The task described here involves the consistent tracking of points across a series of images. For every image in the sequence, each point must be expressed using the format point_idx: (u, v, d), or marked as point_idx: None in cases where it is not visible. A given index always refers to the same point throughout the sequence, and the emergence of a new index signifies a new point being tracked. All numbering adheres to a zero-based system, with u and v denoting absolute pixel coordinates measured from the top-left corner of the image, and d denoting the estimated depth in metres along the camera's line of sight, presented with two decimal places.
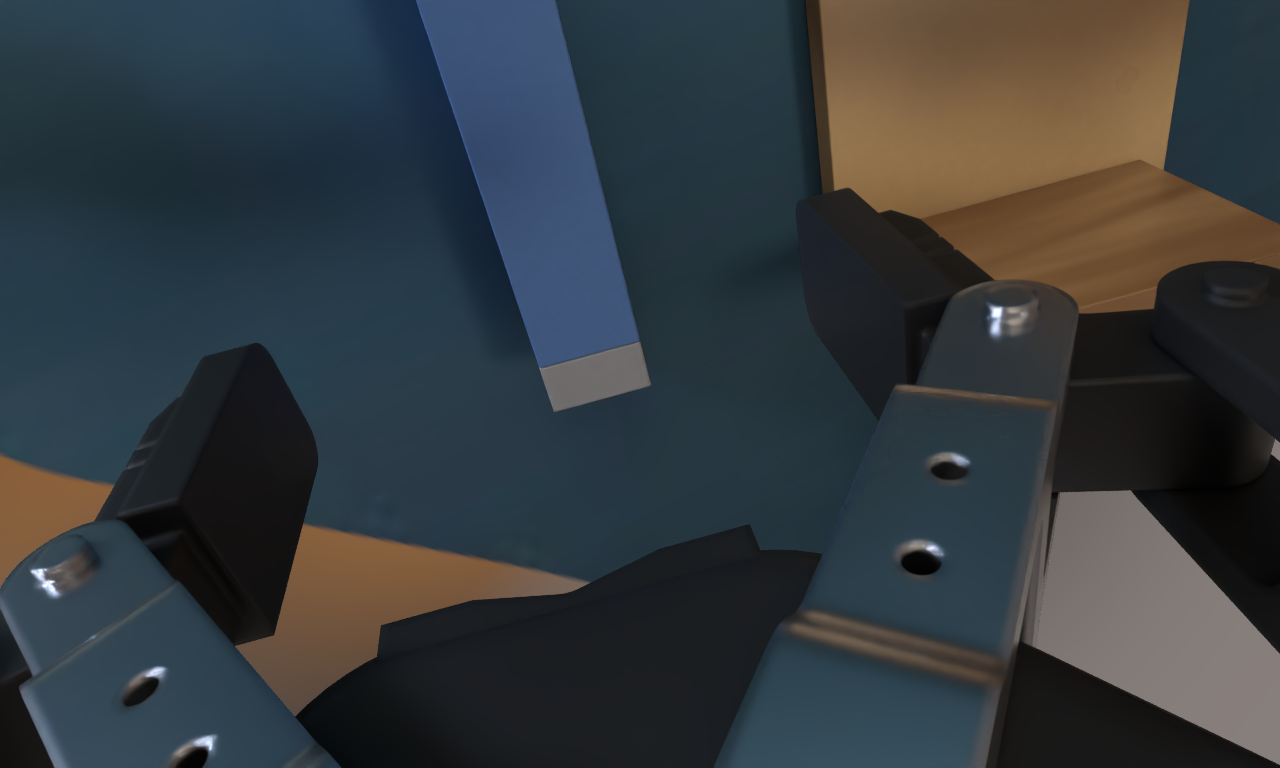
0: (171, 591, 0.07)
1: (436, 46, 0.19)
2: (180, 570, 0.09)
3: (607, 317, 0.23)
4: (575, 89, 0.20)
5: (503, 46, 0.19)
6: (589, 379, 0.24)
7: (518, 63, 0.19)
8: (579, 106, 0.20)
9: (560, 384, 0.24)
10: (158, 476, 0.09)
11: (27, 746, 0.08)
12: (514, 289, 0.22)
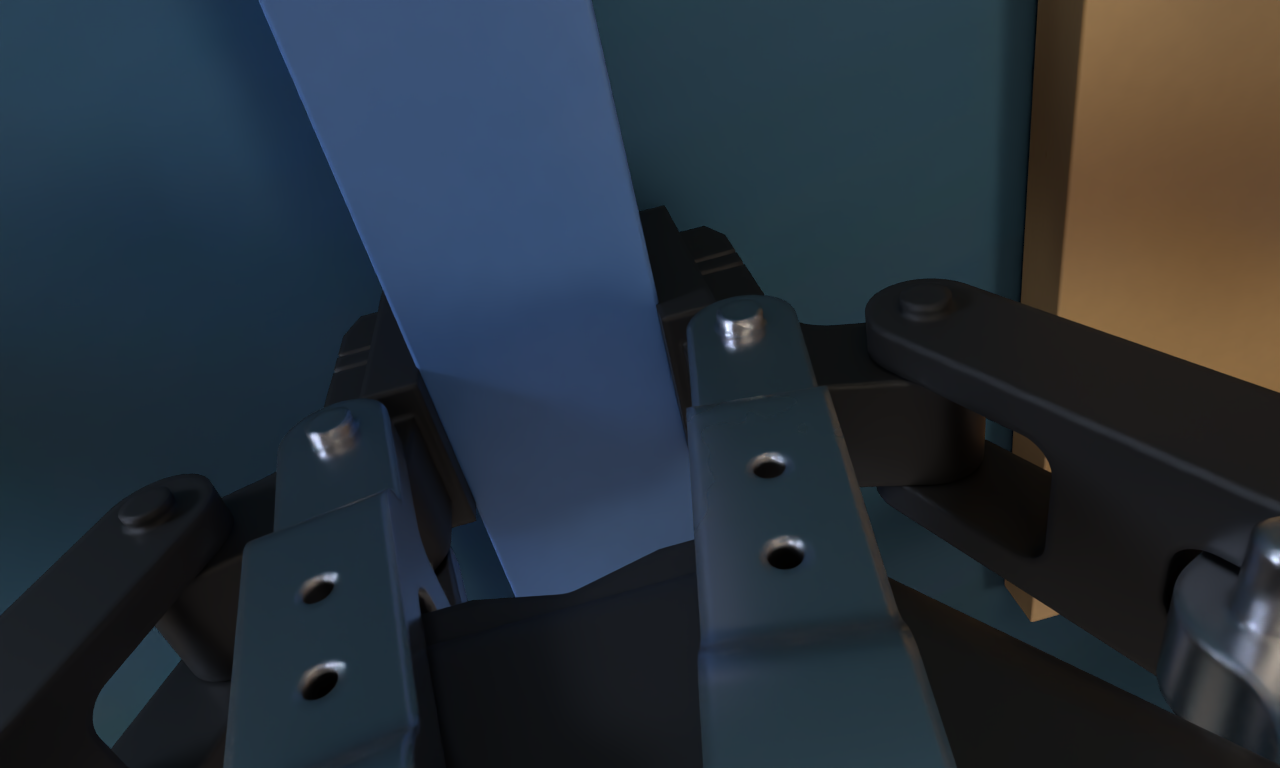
0: (376, 501, 0.07)
1: (394, 297, 0.09)
2: (418, 447, 0.10)
3: None
4: (666, 356, 0.10)
5: (531, 291, 0.10)
6: None
7: (558, 319, 0.10)
8: (671, 382, 0.11)
9: None
10: (386, 368, 0.10)
11: None
12: None
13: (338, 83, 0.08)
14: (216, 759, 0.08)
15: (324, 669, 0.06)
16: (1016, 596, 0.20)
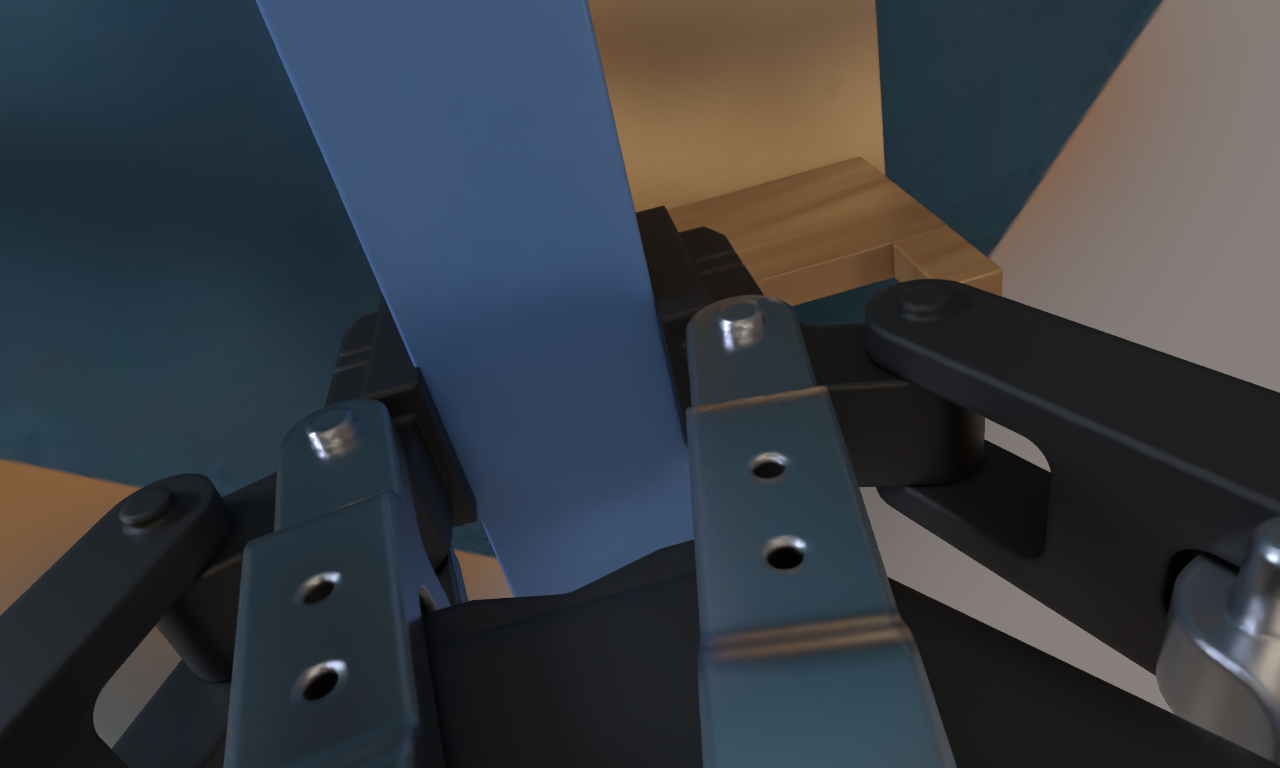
0: (377, 501, 0.07)
1: (394, 299, 0.09)
2: (418, 447, 0.10)
3: None
4: (663, 357, 0.10)
5: (528, 293, 0.10)
6: None
7: (555, 320, 0.10)
8: (668, 382, 0.11)
9: None
10: (387, 368, 0.10)
11: None
12: None
13: (336, 86, 0.08)
14: (217, 759, 0.08)
15: (325, 669, 0.06)
16: None
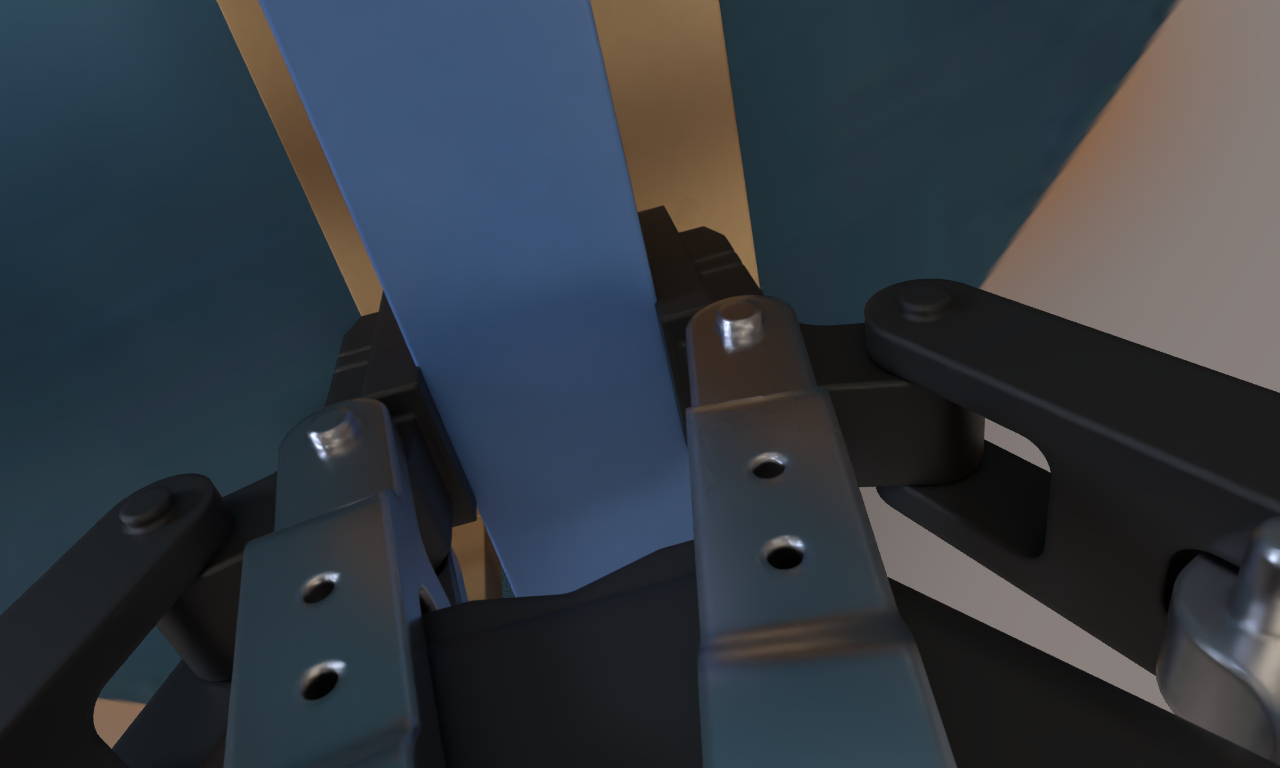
0: (377, 501, 0.07)
1: (395, 299, 0.09)
2: (418, 447, 0.10)
3: None
4: (666, 358, 0.10)
5: (531, 294, 0.10)
6: None
7: (558, 322, 0.10)
8: (671, 383, 0.11)
9: None
10: (387, 368, 0.10)
11: None
12: None
13: (340, 88, 0.08)
14: (217, 758, 0.08)
15: (324, 669, 0.06)
16: None
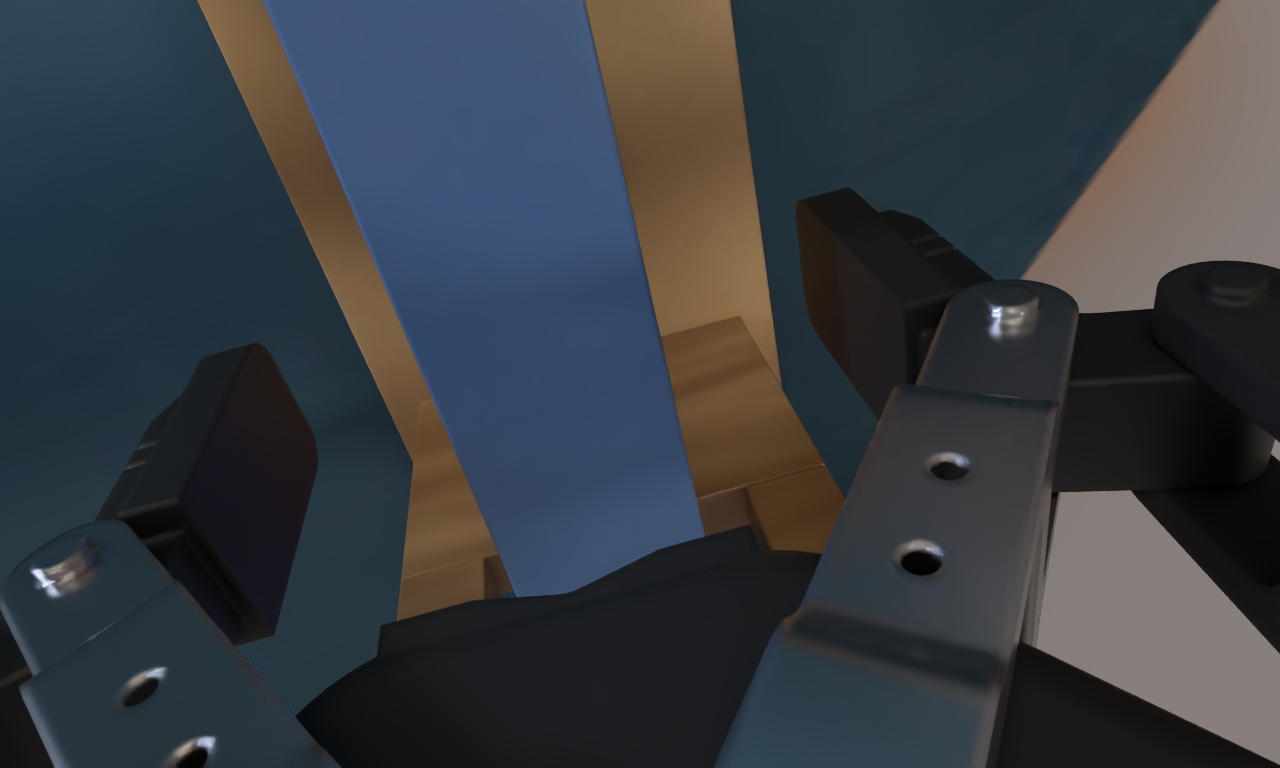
0: (171, 591, 0.07)
1: (398, 296, 0.10)
2: (180, 570, 0.09)
3: None
4: (660, 355, 0.11)
5: (529, 292, 0.10)
6: None
7: (555, 320, 0.10)
8: (665, 379, 0.11)
9: None
10: (158, 476, 0.09)
11: (27, 746, 0.08)
12: None
13: (344, 91, 0.08)
14: None
15: (185, 751, 0.05)
16: None
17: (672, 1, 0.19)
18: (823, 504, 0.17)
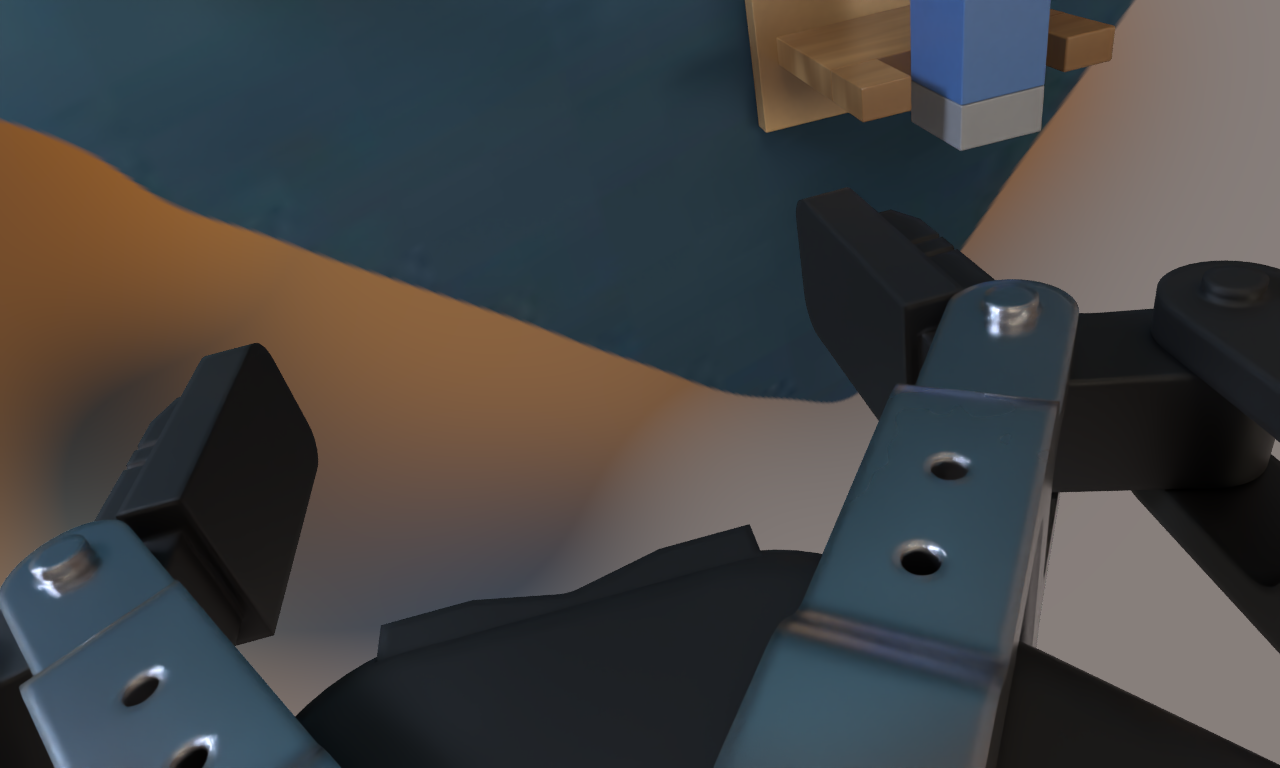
0: (171, 591, 0.07)
1: None
2: (180, 570, 0.09)
3: (1026, 59, 0.28)
4: None
5: None
6: (995, 120, 0.29)
7: None
8: None
9: (973, 123, 0.29)
10: (158, 476, 0.09)
11: (27, 746, 0.08)
12: (964, 25, 0.27)
13: None
14: None
15: (186, 750, 0.05)
16: (761, 124, 0.39)
17: None
18: (1071, 20, 0.30)
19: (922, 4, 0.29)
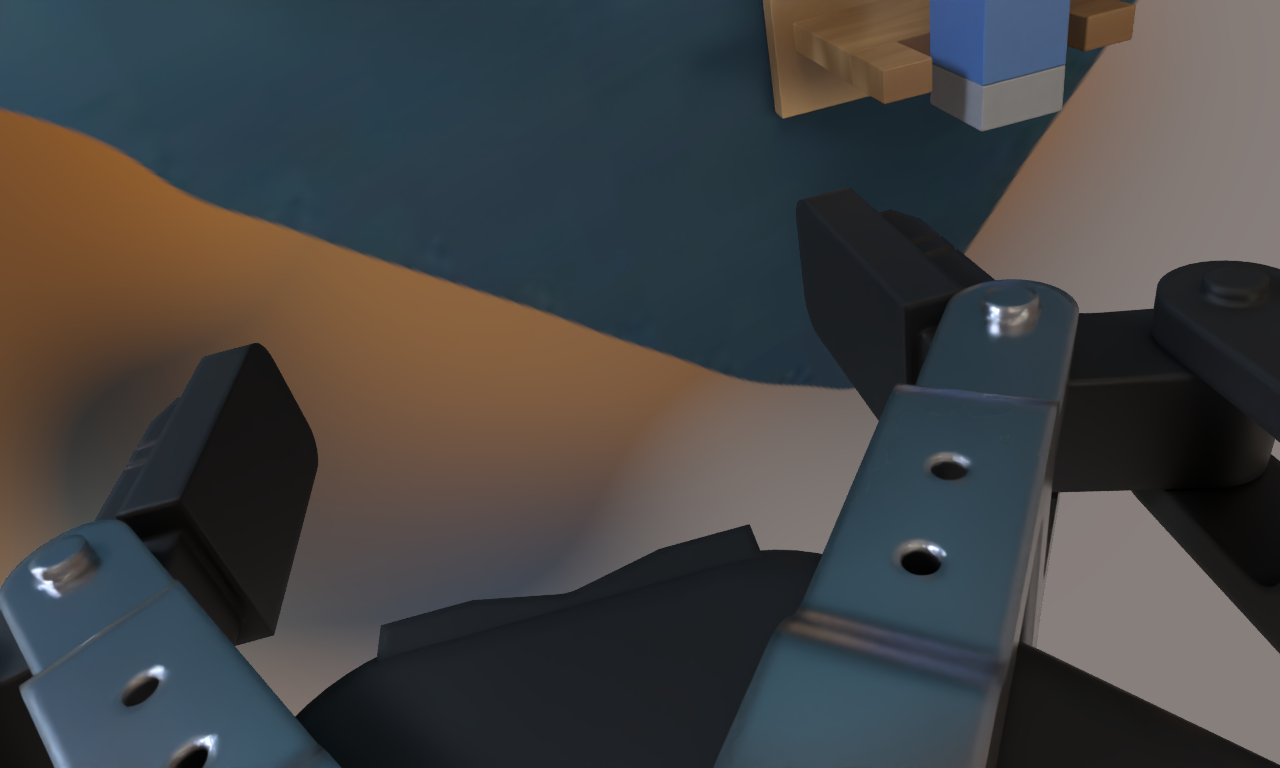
0: (171, 591, 0.07)
1: None
2: (180, 570, 0.09)
3: (1047, 38, 0.28)
4: None
5: None
6: (1017, 100, 0.29)
7: None
8: None
9: (994, 103, 0.29)
10: (158, 476, 0.09)
11: (27, 746, 0.08)
12: (985, 5, 0.27)
13: None
14: None
15: (186, 751, 0.05)
16: (778, 111, 0.39)
17: None
18: None
19: None
